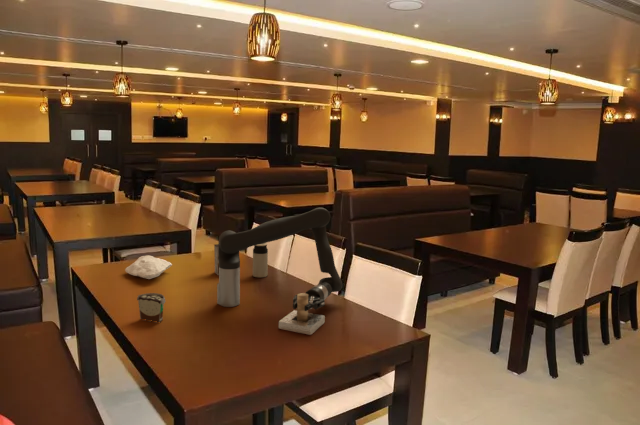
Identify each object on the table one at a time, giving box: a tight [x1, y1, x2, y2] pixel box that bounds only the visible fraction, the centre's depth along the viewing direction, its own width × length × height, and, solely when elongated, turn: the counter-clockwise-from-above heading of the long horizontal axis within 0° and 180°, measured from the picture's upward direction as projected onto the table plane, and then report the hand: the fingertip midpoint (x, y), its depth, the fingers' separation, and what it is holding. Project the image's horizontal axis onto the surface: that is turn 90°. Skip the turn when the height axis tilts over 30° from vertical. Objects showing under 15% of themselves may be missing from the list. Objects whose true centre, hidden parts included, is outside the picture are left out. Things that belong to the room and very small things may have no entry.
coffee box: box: [213, 243, 219, 276], centre depth 263 cm, size 9×6×16 cm
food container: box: [136, 292, 166, 323], centre depth 195 cm, size 12×6×10 cm, turn 71°
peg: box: [296, 292, 309, 323], centre depth 193 cm, size 4×4×12 cm
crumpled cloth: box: [124, 255, 173, 280], centre depth 255 cm, size 24×35×9 cm
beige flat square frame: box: [278, 309, 326, 336], centre depth 193 cm, size 14×14×3 cm
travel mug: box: [252, 242, 269, 278], centre depth 259 cm, size 8×8×18 cm
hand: (299, 307), depth 190 cm, fingers closed on peg, 4 cm apart
